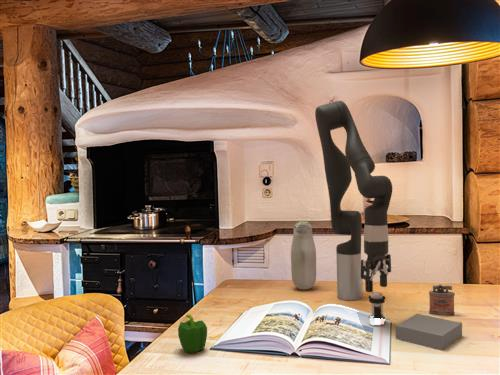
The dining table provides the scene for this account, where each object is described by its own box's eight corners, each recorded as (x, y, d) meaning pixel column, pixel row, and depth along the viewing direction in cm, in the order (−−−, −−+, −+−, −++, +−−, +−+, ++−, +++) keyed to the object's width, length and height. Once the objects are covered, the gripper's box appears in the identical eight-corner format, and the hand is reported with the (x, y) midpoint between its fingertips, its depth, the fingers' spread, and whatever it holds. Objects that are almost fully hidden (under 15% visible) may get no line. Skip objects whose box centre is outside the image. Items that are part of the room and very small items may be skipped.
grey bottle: (289, 286, 212) (287, 220, 210) (313, 285, 213) (312, 218, 211) (294, 292, 202) (292, 223, 200) (319, 291, 203) (317, 222, 201)
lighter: (429, 314, 170) (428, 285, 170) (429, 311, 173) (428, 283, 173) (454, 316, 168) (454, 287, 167) (454, 313, 171) (454, 284, 170)
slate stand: (417, 326, 160) (417, 313, 159) (462, 336, 150) (462, 322, 150) (395, 338, 150) (395, 325, 149) (442, 350, 140) (442, 336, 140)
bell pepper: (210, 353, 143) (209, 318, 142) (181, 357, 141) (180, 322, 140) (204, 343, 151) (203, 310, 150) (177, 346, 149) (175, 313, 148)
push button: (385, 320, 166) (384, 290, 165) (392, 326, 160) (392, 295, 160) (365, 322, 164) (365, 292, 164) (372, 328, 159) (372, 296, 158)
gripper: (377, 235, 168) (377, 283, 169) (353, 240, 158) (353, 291, 159) (398, 237, 163) (398, 286, 164) (374, 242, 153) (374, 295, 154)
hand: (376, 289), depth 161 cm, fingers open, 8 cm apart
